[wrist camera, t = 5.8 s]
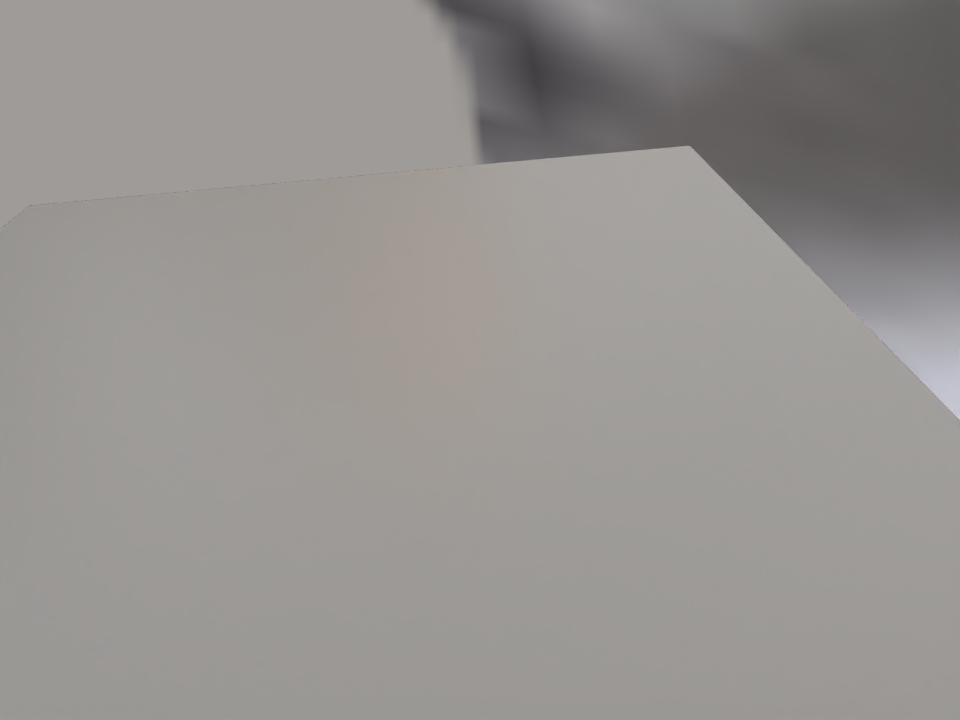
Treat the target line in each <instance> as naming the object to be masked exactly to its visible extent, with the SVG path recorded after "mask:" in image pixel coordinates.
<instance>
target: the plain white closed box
mask: <svg viewBox="0 0 960 720" xmlns="http://www.w3.org/2000/svg"><path fill="white" fill-rule="evenodd" d="M0 720H960V420H959V419H958V418H957V417H956V416H955V415H954V414H953V413H952V412H951V411H950V410H949V409H948V408H947V407H946V406H945V405H944V404H943V403H942V402H941V401H940V400H939V399H938V398H937V397H936V396H935V395H934V394H933V393H932V391H931V390H930V389H929V388H928V387H927V386H926V385H925V384H924V383H923V382H922V381H921V380H920V379H919V378H918V377H917V376H916V375H915V374H914V373H913V372H912V371H911V370H910V369H909V368H908V367H907V366H906V365H905V364H904V363H903V362H902V361H901V360H900V359H899V358H898V357H897V356H896V355H895V354H894V353H893V352H892V351H891V350H890V349H889V348H888V347H887V346H886V345H885V344H884V343H883V342H882V341H881V340H880V339H879V338H878V337H877V336H876V335H875V333H874V332H873V331H872V330H871V329H870V328H869V327H868V326H867V325H866V324H865V323H864V322H863V321H862V320H861V319H860V318H859V317H858V316H857V315H856V314H855V313H854V312H853V311H852V310H851V309H850V308H849V307H848V306H847V305H846V304H845V303H844V302H843V301H842V300H841V299H840V298H839V297H838V296H837V295H836V294H835V293H834V292H833V291H832V290H831V289H830V288H829V287H828V286H827V285H826V284H825V283H824V282H823V281H822V280H821V279H820V278H819V276H818V275H817V274H816V273H815V272H814V271H813V270H812V269H811V268H810V267H809V266H808V265H807V264H806V263H805V262H804V261H803V260H802V259H801V258H800V257H799V256H798V255H797V254H796V253H795V252H794V251H793V250H792V249H791V248H790V247H789V246H788V245H787V244H786V243H785V242H784V241H783V240H782V239H781V238H780V237H779V236H778V235H777V234H776V233H775V232H774V231H773V230H772V229H771V228H770V227H769V226H768V225H767V224H766V223H765V222H764V221H763V220H762V218H761V217H760V216H759V215H758V214H757V213H756V212H755V211H754V210H753V209H752V208H751V207H750V206H749V205H748V204H747V203H746V202H745V201H744V200H743V199H742V198H741V197H740V196H739V195H738V194H737V193H736V192H735V191H734V190H733V189H732V188H731V187H730V186H729V185H728V184H727V183H726V182H725V181H724V180H723V179H722V178H721V177H720V176H719V175H718V174H717V173H716V172H715V171H714V170H713V169H712V168H711V167H710V166H709V165H708V164H707V163H706V162H705V160H704V159H703V158H702V157H701V156H700V155H699V154H698V153H697V152H696V151H695V150H694V149H693V148H692V147H691V146H679V147H668V148H657V149H646V150H635V151H624V152H613V153H602V154H591V155H580V156H569V157H558V158H547V159H536V160H525V161H514V162H503V163H492V164H481V165H471V166H460V167H448V168H439V169H427V170H415V171H405V172H395V173H394V172H393V173H382V174H371V175H360V176H349V177H338V178H328V179H317V180H306V181H295V182H284V183H273V184H262V185H251V186H240V187H229V188H218V189H208V190H197V191H185V192H175V193H163V194H152V195H141V196H130V197H119V198H109V199H97V200H86V201H75V202H64V203H53V204H42V205H31V206H28V207H27V208H26V209H25V210H23V211H22V212H21V213H20V214H19V215H17V216H16V217H15V218H13V219H12V220H11V221H10V222H9V223H7V224H6V225H5V226H4V227H3V228H1V229H0Z"/></svg>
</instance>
